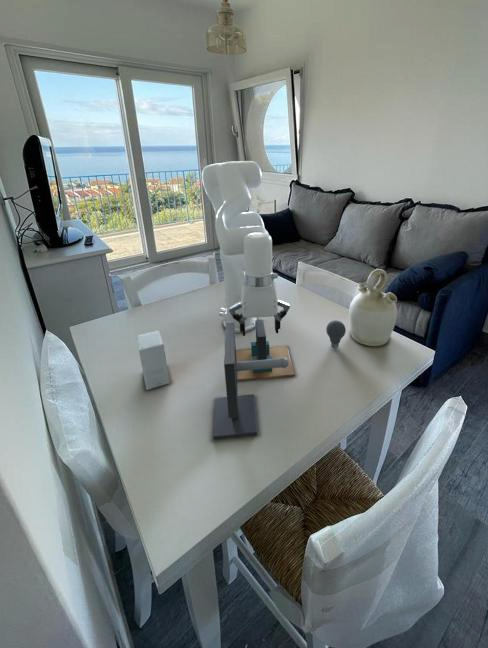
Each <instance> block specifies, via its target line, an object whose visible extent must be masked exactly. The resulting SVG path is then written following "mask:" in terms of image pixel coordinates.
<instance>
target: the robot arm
mask: <svg viewBox="0 0 488 648" xmlns="http://www.w3.org/2000/svg"><path fill="white" fill-rule="evenodd" d="M201 171H202V172H201V180H202V185H203V189H204V191H205V193H206V196H207V198H208V200H209V201H210V203H211V205H212V207H213V210H214V216H215V221H214V226H215V227H214V229H215V233H216V234H215V235H216V238H217V241H218V245H219V248H220V249H219V259H220V264H221V267H222V272H223V280H224V281H223V282H224V294H225V307H226V308H224V307H221V308H220V309H219V313H218V315H219V316H220V317H224V319H223V322H222V323H223V327H224V328H225V329H226V323H230V322H234V328H235V333H242V336H243V337H245V336H246V332H248V331H251V330H254V329H255V328H256V326H255V320H258V318H266V317H267V318H268V317H273V318H274V331H275V334H279V330H281V321H283V318H284V317H285V316H286V315H287V314H288V312H289V310H290V308H291V306H290V304H289V303H287V302H285V301H283V300H280V299H278V293H277V292H278V291H277V285H276V282H275V279H278V278H279V275H278V273H275V272H273V239H272V236H271V235H270V234H269V231H268V230H267V229H266V228H265V223H264V221H263V217H262V216H261V215H260V214H259V213H258V212H256V211H247V210H248V209H249V208H250V206H251V204H252V196H251V193H250V191H249V189H255V188H258V187H260V185H261V184H262V180H263V175H262V170H261V167H260V166H259V163H257V162H256V161H253V160H239V161H235V160H234V161H225V162H222V163H221V162H220V163H219V162H218V163H213V164H209V165H206V166H204V167H203V169H202V170H201ZM279 307H280V308H282V310H280V311H279V310H278V309H279Z"/></svg>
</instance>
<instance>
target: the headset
mask: <svg viewBox="0 0 488 648" xmlns="http://www.w3.org/2000/svg"><path fill="white" fill-rule="evenodd" d="M265 327H266V326H265V322H264V319H257V320H255V341H251V342H250V349H251V354H252V357H253V356H258V357H255V358H252V360H253V361H256V360H268V359H272V356H267V355H270V352H269V347H270V341H269V340H267V335H266V328H265ZM261 372H272V368H269V369H257V370H253V373H261Z"/></svg>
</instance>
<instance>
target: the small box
mask: <svg viewBox="0 0 488 648" xmlns="http://www.w3.org/2000/svg"><path fill="white" fill-rule="evenodd" d="M136 341H137V348H138V354H139V358H140V362H141V368H142V374H143V379H144V384H145V385H144V386H145V390H146V391H148V390H152V389H155V388H158V387H161V386H165V385H168V384H170V383H171V382H170V381H171V380H170V375H169V369H168V363H167V358H166V357H167V356H166V350H165V344H164V340H163V337H162V334H161V331H160V330H155V331H150V332H146V333H142V334H137V335H136Z"/></svg>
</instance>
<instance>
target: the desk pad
mask: <svg viewBox="0 0 488 648" xmlns="http://www.w3.org/2000/svg"><path fill="white" fill-rule="evenodd" d="M269 352H270V355H267V356H272V359H280V358H282V357H285V358H287V359H288V361H289V364H288V366H287V367H286V368H281V367H280V368H272V372H261V373H253V370H245V371H237V382H240V381H252V380H263V379H264V380H265V379H273V378H286V377H295V372H294V367H293V364H292V360H291V357H290V352H289V347H288V346H287V345H283V346H269ZM255 357H258V356H253V357H252V354H251V348H242V349H236V359H237V362H244V361H253V360H252V358H255Z"/></svg>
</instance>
